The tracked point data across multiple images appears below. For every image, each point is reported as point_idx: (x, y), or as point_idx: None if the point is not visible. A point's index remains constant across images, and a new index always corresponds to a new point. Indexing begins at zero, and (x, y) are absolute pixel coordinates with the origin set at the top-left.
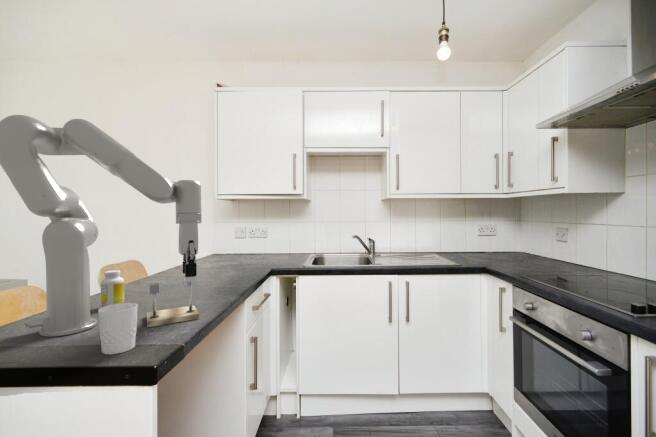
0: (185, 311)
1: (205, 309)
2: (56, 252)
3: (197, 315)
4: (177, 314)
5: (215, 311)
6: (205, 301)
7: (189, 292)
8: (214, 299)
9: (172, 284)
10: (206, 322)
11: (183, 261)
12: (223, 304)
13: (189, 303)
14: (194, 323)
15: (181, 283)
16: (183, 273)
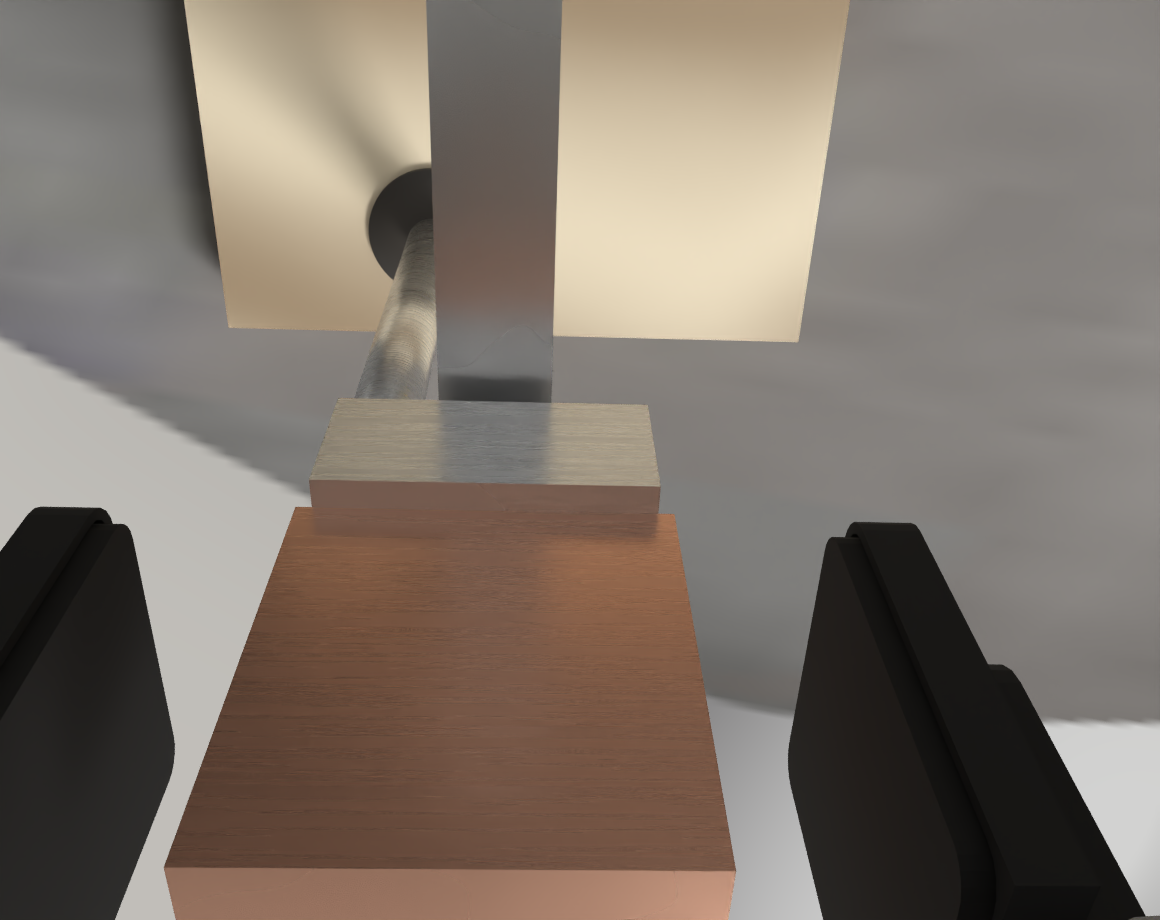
0: None
1: (691, 447)
2: None
3: (231, 292)
4: (358, 5)
5: None
6: (1147, 524)
7: (366, 364)
8: (1150, 638)
9: (433, 35)
10: (14, 346)
11: (1079, 914)
12: (784, 675)
13: (405, 268)
14: (30, 197)
15: (439, 300)
16: (853, 526)
